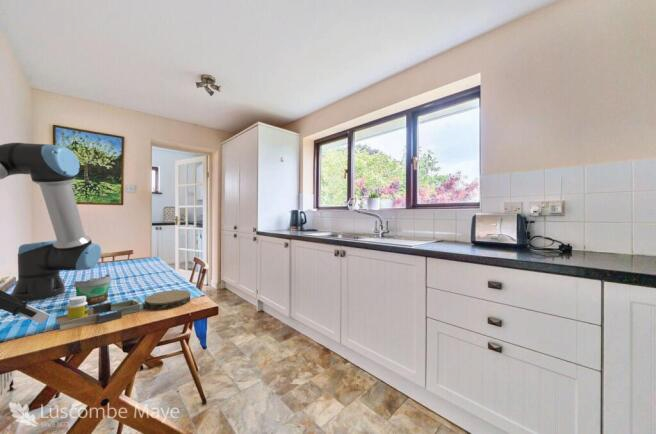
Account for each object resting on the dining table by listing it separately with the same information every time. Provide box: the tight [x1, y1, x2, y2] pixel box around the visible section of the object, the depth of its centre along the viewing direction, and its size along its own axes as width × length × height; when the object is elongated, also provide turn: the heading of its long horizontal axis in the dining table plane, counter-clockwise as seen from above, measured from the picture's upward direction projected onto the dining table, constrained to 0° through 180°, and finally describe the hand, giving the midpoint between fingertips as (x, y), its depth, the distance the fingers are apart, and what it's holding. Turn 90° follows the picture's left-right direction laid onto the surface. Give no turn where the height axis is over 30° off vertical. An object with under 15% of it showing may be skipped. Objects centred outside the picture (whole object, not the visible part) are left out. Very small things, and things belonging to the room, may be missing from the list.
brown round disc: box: [144, 289, 191, 311], centre depth 103 cm, size 16×16×3 cm
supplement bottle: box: [67, 295, 89, 321], centre depth 83 cm, size 5×5×8 cm
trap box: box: [55, 298, 144, 332], centre depth 88 cm, size 13×22×2 cm, turn 144°
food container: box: [72, 274, 112, 307], centre depth 101 cm, size 12×6×10 cm, turn 168°
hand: (45, 319), depth 77 cm, fingers closed
